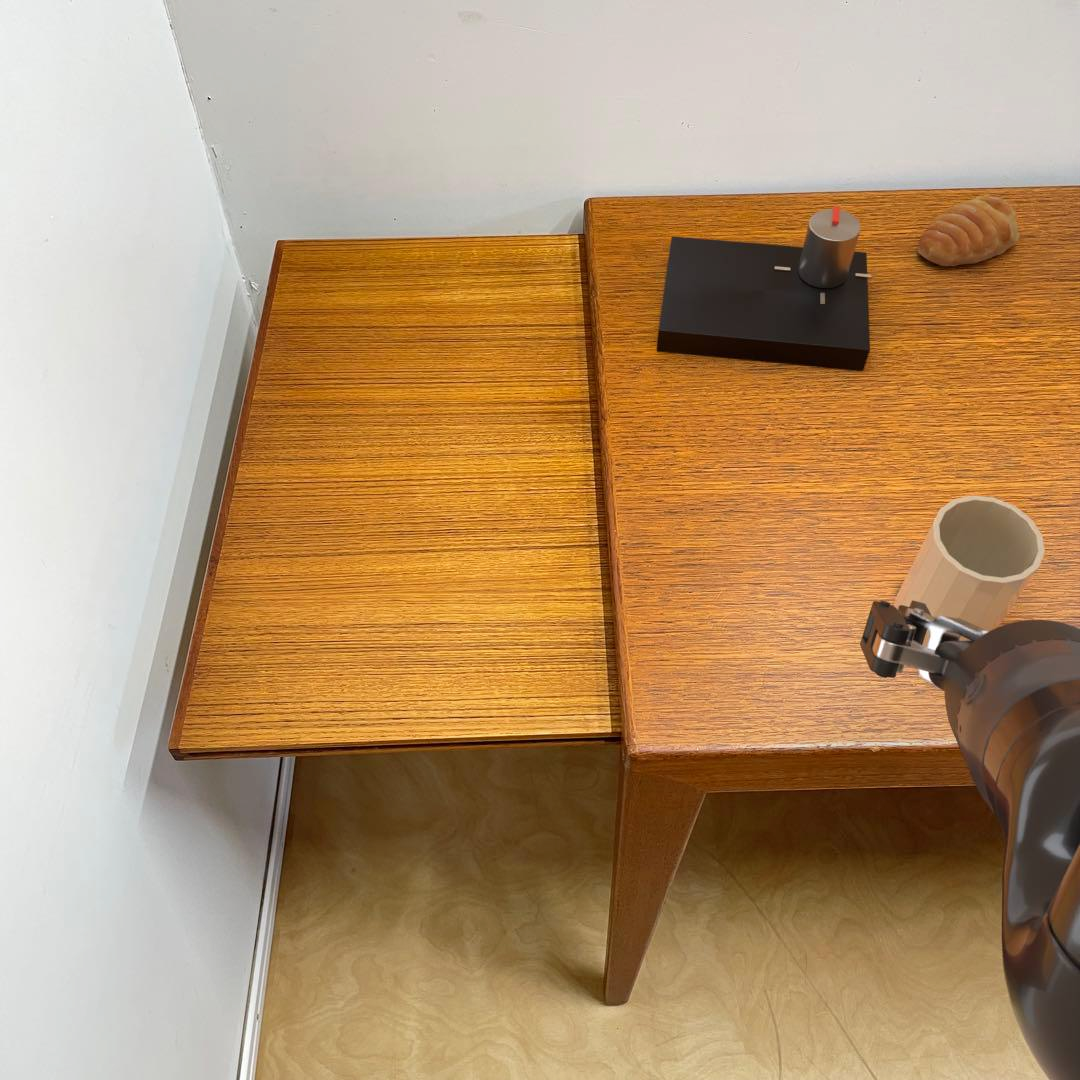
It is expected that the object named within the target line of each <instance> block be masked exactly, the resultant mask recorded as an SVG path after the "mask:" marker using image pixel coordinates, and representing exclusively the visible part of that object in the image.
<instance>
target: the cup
mask: <svg viewBox="0 0 1080 1080" xmlns="http://www.w3.org/2000/svg"><path fill="white" fill-rule="evenodd" d="M1043 537H1044V536H1043V534H1042V532H1041V531H1040V529H1039V528H1038V526H1037V525H1036V523H1035V522H1034V520H1033V519H1032V518H1031V517H1030V516H1028V515H1027V514H1026V513H1025V512H1023V511H1022V510H1021V509H1020V508H1018V507H1017V506H1015V505H1014V504H1011V503H1009V502H1006V501H1004V500H1002V499H999V498H997V497H993V496H985V495H984V496H983V495H976V494H975V495H974V494H973V495H968V496H967V495H966V496H963V497H958V498H954V499H952V500H951V501H949V502H948V503H946V504H945V505H943V506H942V507H940V509H938V512H937V514H936V516H935V517H934V521H933V522H932V524H931V526H930V528H929V529H928V532H927V534H926V535H925V538H924V540H923V542H922V544H921V545H920V548H919V550H918V552H917V554H916V556H915V558H914V560H913V562H912V564H911V566H910V568H909V570H908V572H907V573H906V576H905V578H904V580H903V582H902V584H901V586H900V588H899V590H898V592H897V594H896V596H895V598H894V601H893V606H894V607H896V608H897V610H898V607H899V606H900V605H904V606H907V607H910V604H911V602H912V600H914V601H917V602H921V603H924V604H926V606H927V608H928V610H929V611H930V613H931V615H932V616H934V617H936V618H937V617H938V616H946V617H953V618H960V619H963V620H965V621H967V622H969V623H971V624H974V625H976V626H978V627H980V628H982V629H984V630H987V631H991V630H993V629H995V628H997V627H1000V626H1001V624H1002V622H1003V620H1005V618H1006V617H1007V616H1008V614H1009V612H1010V611H1011V609H1013V606H1014V605H1015V604H1016V602H1017V601H1018V599H1019V598H1020V596H1021V595H1022V594H1023V592H1024V590H1025V589H1026V588H1027V586H1028V584H1029V583H1030V581H1031V580H1032V579H1033V577H1034V576H1035V574H1037V571H1038V570H1039V568H1040V567H1041V564H1042V562H1043V560H1044V556H1045V554H1046V550H1045V543H1044V538H1043ZM929 638H930V631H929V630H928V629H927V632H926V635H925V638H924V641H923V644H922V646H924V647H927V644H928V641H929ZM959 641H971V640H969V639H967V638H965V637H963V636H961V637H960V639H959Z"/></svg>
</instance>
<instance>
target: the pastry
mask: <svg viewBox="0 0 1080 1080" xmlns="http://www.w3.org/2000/svg"><path fill="white" fill-rule="evenodd" d="M1019 240H1020V232H1019V224H1018V221H1017V213H1016V211H1015V208H1013V207H1012V205H1011V204H1010V203H1008V201H1006V200H1005V199H1004V198H1002V197H998V196H991V195H990V194H987V193H986V194H983V195H979V196H975V197H974V198H973V199H970V200H965V201H962V202H959V203H958V204H954V205H952V206H950V208H948V209H946V210H944V211H942V212H941V213H940V214H939V215H937V216H935V218H934V219H933V221H931V222H930V223H929V225H928V227H927V228H926V229H925V230H924V231H923V232H922V233H921V235H920V237H919V243H918V247H917V254H919V255H921V257H923V258H924V259H926V260H927V261H929V262H932V263H933V264H936V265H938V266H942V267H945V268H948V267H950V266H951V267H957V266H960V265H969V266H970V265H973V264H978V263H979V262H980V263H981V262H985V261H987V260H989V259H992V258H994V257H995V256H996V257H997V256H1000V255H1002V254H1004V253H1006V251H1008V250H1009V249H1011V248H1012V247H1013V246H1014V245H1016V244H1017V243H1018V242H1019Z"/></svg>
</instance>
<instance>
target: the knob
mask: <svg viewBox="0 0 1080 1080" xmlns="http://www.w3.org/2000/svg"><path fill="white" fill-rule="evenodd" d="M861 227H862V225H861V223H860V221H859V219H858V218H857V217H856V216H855V215H853V214H852V213H850V212H848V211H846V210H842V209H841V206H837V205H834V206H833V208H828V209H827V208H826V209H823V210H819V211H817V212H815V213H814V214H812V215H811V216H810V218H809V220H808V224H807V228H806V232H805V233H806V234H805V238H804V241H803V246H802V247H803V250H802V255H801V259H800V263H799V268H798V272H799V275H800V277H801V278H802V280H803V281H805V282H806V283H808V284H809V285H812V286H814V287H818V288H833V287H837V286H839V285H841V284H842V283H844V281H845V280H846V279H847V276H848V272H849V269H850V265H851V262H852V258H853V255H854V251H856V248H857V244H858V241H859V237H860V233H861V230H862V228H861Z"/></svg>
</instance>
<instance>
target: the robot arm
mask: <svg viewBox="0 0 1080 1080" xmlns="http://www.w3.org/2000/svg"><path fill="white" fill-rule="evenodd" d="M863 629H864V630H863V633H862V636H861V640H860V643H859V646H860V649H861V651H862V653H863V656H864V658H865V660H866V663H867V665H868V668H869V670H870V671H871V672H872V673H875V674H876V675H877V676H878V677H880V678H884V679H887V678H890V679H895V678H896V676H897V674H902V673H903V671H904V668H905V666H906V667H909V668H913V669H916V670H918V675H919V677H920V678H921V679H922V680H923V681H925V682H927V683H929V684H931V685H932V686H934V687H936V688H937V689H939V690H941V691H943V692H944V705H945V710H946V716H947V720H948V723H949V726H950V729H951V732H952V734H953V736H954V738H955V741H956V743H957V746H958V748H959V750H960V753H961V755H962V758H963V760H964V762H965V765H966V767H967V770H968V772H969V774H970V776H971V779H972V782H973V783H974V785H975V787H976V789H977V790H978V792H979V794H980V795H981V797H982V799H983V800H984V801H985V803H986V804H987V805H988V807H989V808H990V809H991V810H992V812H993V813H994V814H995V816H996V819H997V821H998V823H999V826H1000V829H1001V831H1002V833H1003V834H1004V838H1005V850H1004V856H1003V865H1002V875H1001V876H1002V877H1001V888H1002V889H1001V896H1002V897H1001V953H1002V954H1001V956H1002V968H1003V969H1002V970H1003V974H1004V980H1005V985H1006V990H1007V993H1008V999H1009V1003H1010V1006H1011V1009H1012V1013H1013V1015H1014V1017H1015V1020H1016V1023H1017V1025H1018V1028H1019V1030H1020V1032H1021V1034H1022V1037H1023V1039H1024V1041H1025V1043H1026V1045H1027V1047H1028V1049H1029V1051H1030V1053H1031V1055H1032V1056H1033V1058H1034V1059H1035V1061H1036V1062H1037V1065H1038V1066H1039V1067H1040V1069H1041V1071H1042V1072H1043V1073H1044V1075H1045V1076H1046V1078H1047V1079H1048V1080H1080V628H1079V627H1076V626H1074V625H1071V624H1067V623H1065V622H1060V621H1054V620H1048V619H1025V620H1018V621H1014V622H1013V621H1012V622H1009V623H1006V624H1003V625H999V627H997V628H995V629H993V630H991V631H987V630H984V629H982V628H980V627H978V626H976V625H974V624H971V623H969V622H967V621H965V620H963V619H960V618H953V617H946V616H938V617H937V618H936V617H934V616H932V615H931V613H930V611H929V610H928V608H927V606H926V604H924V603H921V602H917V601H914V600H912V602H911V604H910V607H907V606H904V605H900V606H899V607H898V610H897V608H896V607H894V605H892V604H891V603H890V602H889V601H886V600H880V601H878V600H873V601H872V603H871V607H870V609H869V613H868V617H867V619H866V623H865V626H864V628H863ZM927 629H928V630H929V631H930V638H929V641H928V644H927V647H924V646H922V644H923V641H924V638H925V635H926V632H927ZM961 636H963V637H965V638H967V639H969V640H971V641H959V639H960V637H961Z"/></svg>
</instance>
